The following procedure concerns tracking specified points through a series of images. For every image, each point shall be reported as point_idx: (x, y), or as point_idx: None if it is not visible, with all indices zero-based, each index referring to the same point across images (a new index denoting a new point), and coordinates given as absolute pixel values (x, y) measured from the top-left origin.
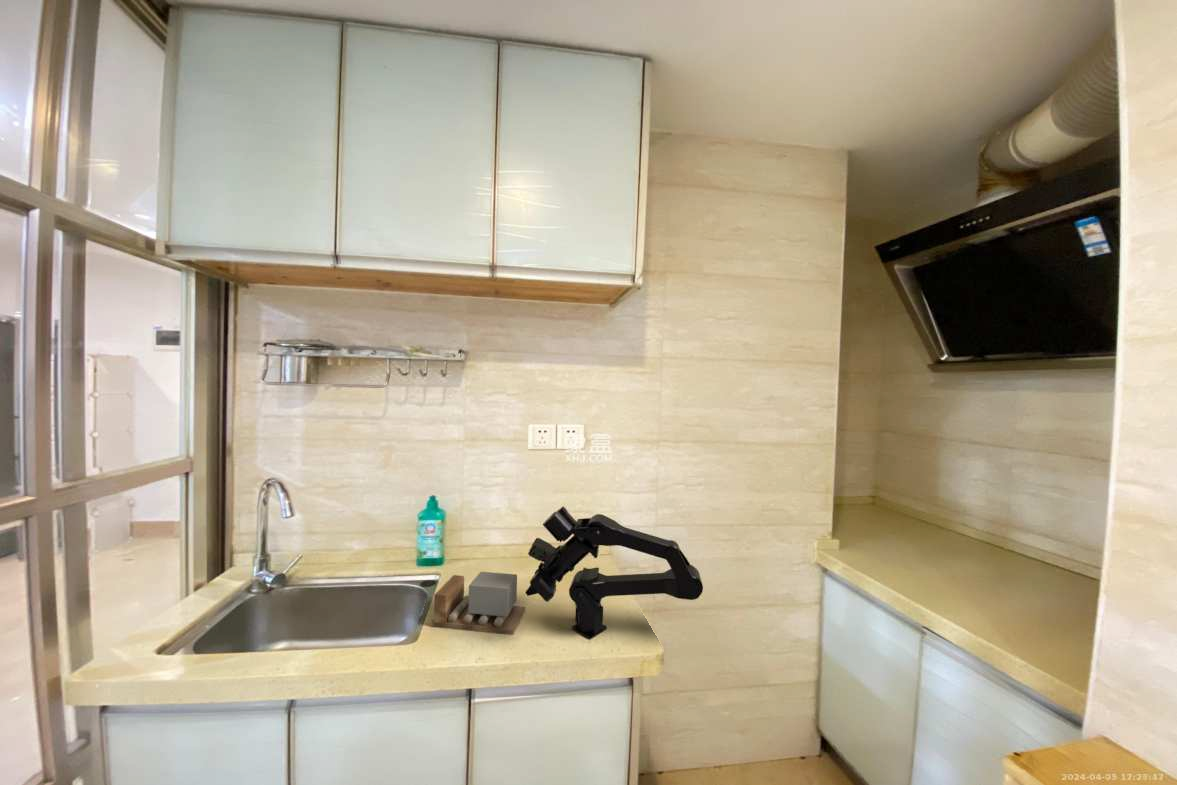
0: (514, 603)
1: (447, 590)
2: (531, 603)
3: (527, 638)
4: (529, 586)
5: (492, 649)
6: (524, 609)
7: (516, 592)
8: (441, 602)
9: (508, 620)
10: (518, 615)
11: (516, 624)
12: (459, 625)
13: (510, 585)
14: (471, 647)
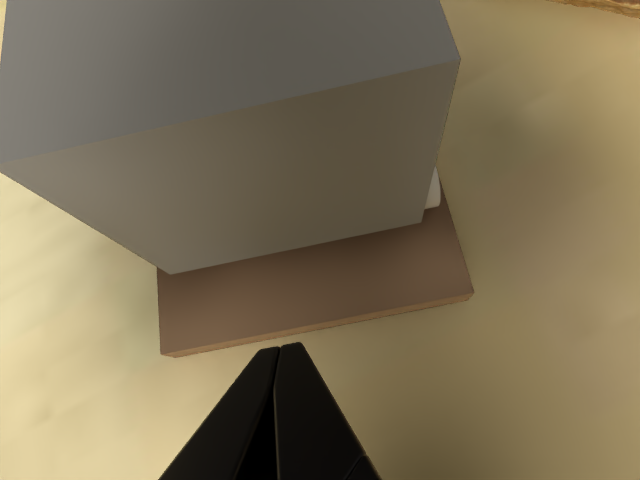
0: (358, 232)
1: None
2: (593, 291)
3: (160, 474)
4: (301, 383)
5: (24, 314)
6: (445, 299)
7: (416, 192)
8: None
9: (260, 267)
10: (341, 301)
11: (243, 339)
12: None
13: (131, 144)
14: (29, 204)
